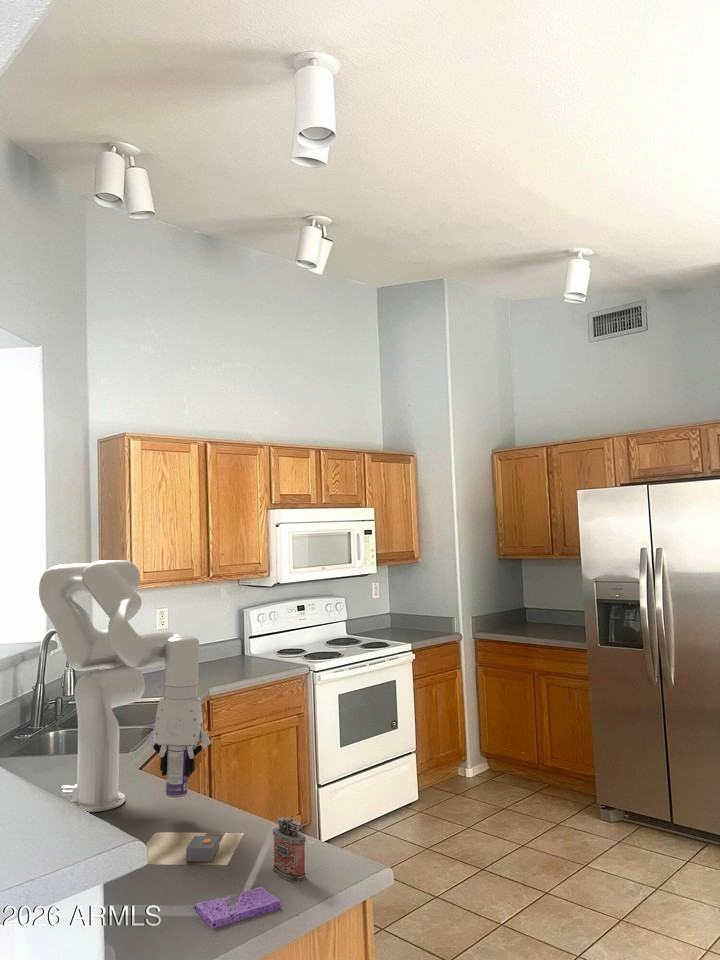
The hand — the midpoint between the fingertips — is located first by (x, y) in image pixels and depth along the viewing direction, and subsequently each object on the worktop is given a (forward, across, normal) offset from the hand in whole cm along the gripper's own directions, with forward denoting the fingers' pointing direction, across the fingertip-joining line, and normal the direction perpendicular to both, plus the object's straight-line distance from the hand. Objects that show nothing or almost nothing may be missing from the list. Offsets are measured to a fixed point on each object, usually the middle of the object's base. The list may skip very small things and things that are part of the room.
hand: (177, 773), depth 169 cm
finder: (+9, +12, -21) cm, 25 cm away
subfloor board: (+10, +8, -17) cm, 21 cm away
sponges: (+10, +23, -40) cm, 47 cm away
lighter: (+9, +29, -26) cm, 40 cm away
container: (+5, 0, 0) cm, 5 cm away
